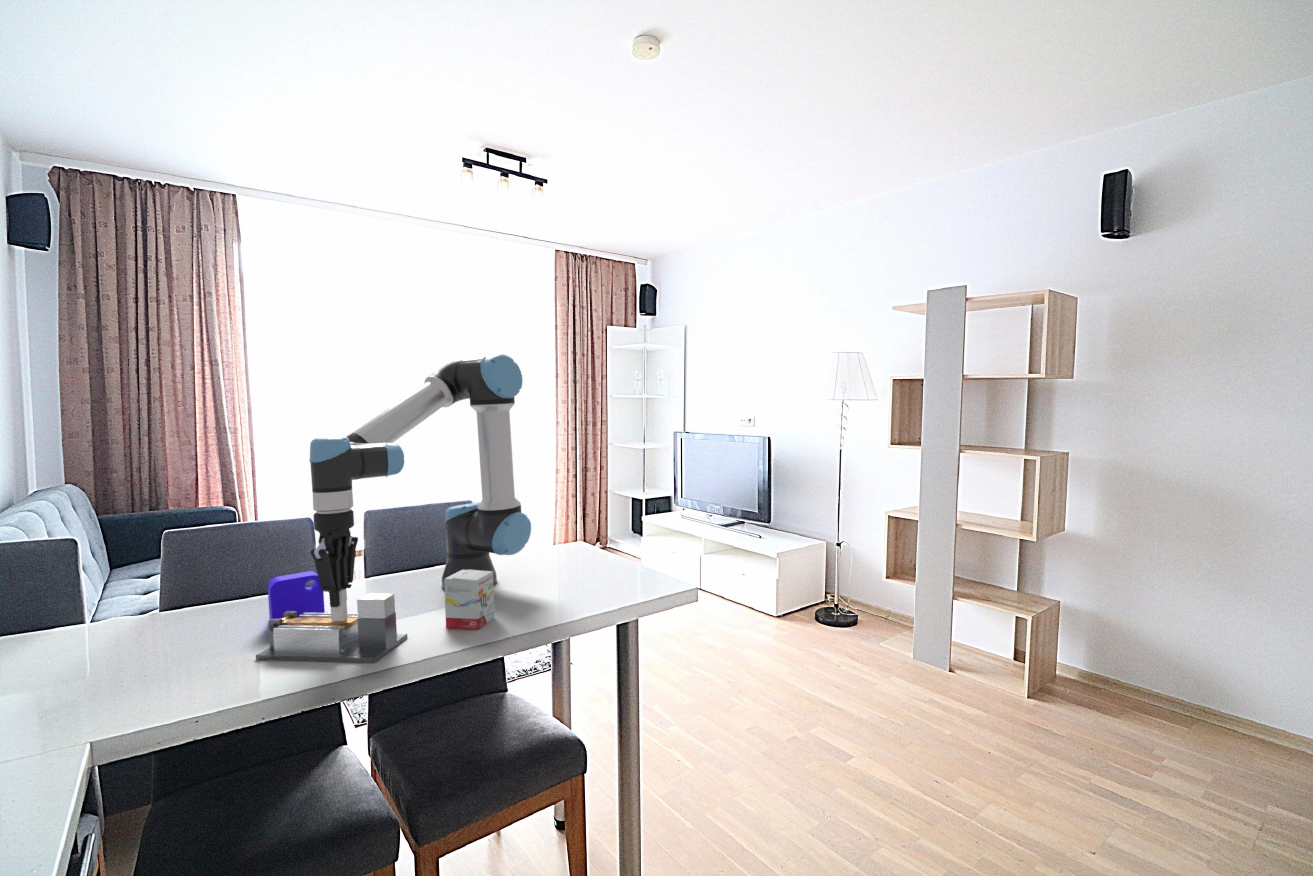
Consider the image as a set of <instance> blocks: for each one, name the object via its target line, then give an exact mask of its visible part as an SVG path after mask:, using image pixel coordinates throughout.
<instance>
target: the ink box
mask: <svg viewBox="0 0 1313 876" xmlns="http://www.w3.org/2000/svg"><path fill="white" fill-rule="evenodd" d="M444 583H445V589H444V604H445V613H444V614H445V628H446V629H453V630H454V629H456V630H477V631H478V630H480V629H481V628H482V627H484V626H485V625H487V623H489V622H491V621H492V620H493V619H495V603H494V602H495V601H494V600H495V599H494V597H495V596H494V595H495V594H494V584H493V571H480V570H461V571H459V572H457V573H455V574H453V575H451V576H449V577H447V578H445V580H444Z"/></svg>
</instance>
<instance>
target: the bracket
mask: <svg viewBox="0 0 1313 876" xmlns="http://www.w3.org/2000/svg"><path fill="white" fill-rule="evenodd" d="M309 581H313V583H312V584H311V585H310V586H306V584H307V582H309ZM324 593H325V592H324V591H322V590H321V586H320V582H319V578H318V573H317V572H315V571H312V570H310V571H309V570H307V571H304V572H297V573H292V574H286V575H279V576H275V577H273V578H271V579H270V581H268V584H267V596H268V597H267V600H268V612H269V613H268V615H269V617H268V618H269V620H270V619H280V618H284V612H286V611H297V618H299V615H303V613H326V611H325V595H324Z"/></svg>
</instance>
